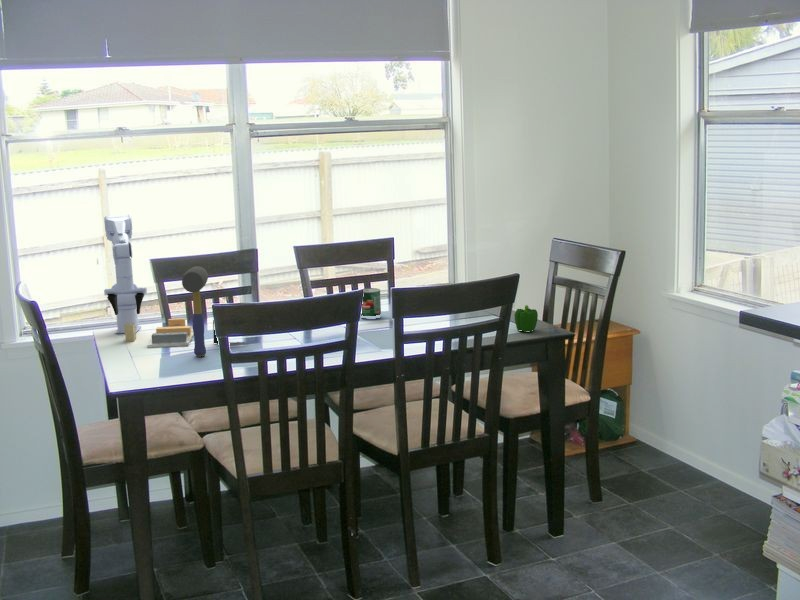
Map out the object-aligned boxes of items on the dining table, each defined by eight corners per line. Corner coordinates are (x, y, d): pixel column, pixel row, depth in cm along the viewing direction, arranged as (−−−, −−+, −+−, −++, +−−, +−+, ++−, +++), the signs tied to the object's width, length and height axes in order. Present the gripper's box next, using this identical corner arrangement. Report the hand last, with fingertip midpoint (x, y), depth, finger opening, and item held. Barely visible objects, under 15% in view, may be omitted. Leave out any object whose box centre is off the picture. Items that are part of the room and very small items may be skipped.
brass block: (127, 339, 336) (126, 323, 335) (136, 338, 336) (134, 322, 335) (125, 342, 332) (124, 325, 331) (134, 341, 333) (132, 325, 331)
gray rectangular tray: (158, 331, 347) (158, 322, 346) (196, 330, 348) (196, 320, 347) (147, 347, 323) (146, 337, 323) (188, 345, 324) (187, 336, 324)
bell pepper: (517, 328, 340) (517, 301, 338) (539, 329, 337) (539, 302, 335) (511, 333, 332) (511, 306, 330) (534, 334, 329) (534, 307, 327)
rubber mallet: (209, 360, 304) (203, 270, 298) (186, 361, 304) (179, 271, 298) (214, 351, 317) (208, 264, 311) (192, 351, 316) (186, 265, 310)
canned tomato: (383, 315, 365) (382, 288, 363) (378, 320, 358) (378, 292, 355) (363, 315, 367) (362, 287, 364) (358, 319, 359) (357, 291, 357)
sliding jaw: (161, 328, 346) (160, 319, 345) (193, 327, 347) (193, 317, 346) (156, 335, 336) (155, 325, 335) (190, 334, 337) (189, 324, 336)
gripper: (100, 279, 325) (104, 317, 328) (143, 277, 326) (146, 315, 329) (105, 275, 332) (108, 312, 335) (146, 274, 333) (149, 311, 336)
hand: (127, 314), depth 332 cm, fingers open, 7 cm apart
